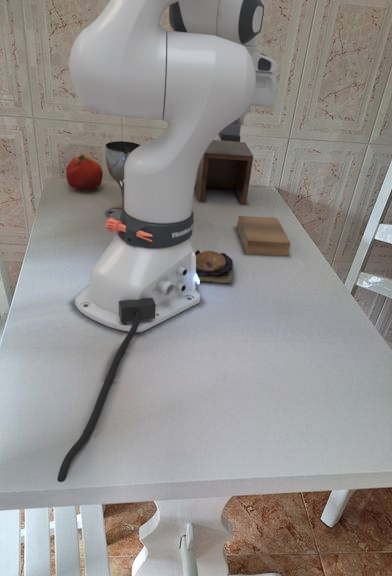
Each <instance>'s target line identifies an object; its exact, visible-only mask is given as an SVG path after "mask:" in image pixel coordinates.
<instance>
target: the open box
mask: <svg viewBox="0 0 392 576" xmlns="http://www.w3.org/2000/svg"><path fill="white" fill-rule="evenodd" d="M253 161H254V155H253V153H252V151H251V150H250V148H249V146H248V144H247V142H246V141H240V142H234V141H221V139H220V140H219V139H213V141H212V142H211V143H210V145H209V146H208V148H207V149H206V151H205V153H204V155H203V157H202V159H201V161H200V164H199V167H198V171H197V176H196V181H195V188H196V193H197V197H198V201H199V202H201V203H202V202H203V203H204V202H205V197H206V189H207V188H213V189H228V190H235V192H236V194H237V197H238V200H239V201H240V204H241V205H247V199H248V193H249V187H250V181H251V174H252V168H253V163H254V162H253Z"/></svg>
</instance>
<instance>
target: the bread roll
mask: <svg viewBox="0 0 392 576" xmlns="http://www.w3.org/2000/svg"><path fill="white" fill-rule="evenodd" d="M194 252H195V255H196V274H197V276H198V278H199V280H200V282H213V283H221V284H222V283H223V284H231V283H232V281H233V280H232V279H233V278H232V276H233V272H232V270H233V269H234V264H233V263H234V262H233V261H234V260H233V259H232V258H231V257H230V256H229V255H227V253H225V252H220V253H219V252H218V251H215V250H204V251H202V252H200V250H199V249H197V250H196V251H194Z"/></svg>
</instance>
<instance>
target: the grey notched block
mask: <svg viewBox="0 0 392 576" xmlns="http://www.w3.org/2000/svg"><path fill="white" fill-rule="evenodd" d="M239 119H240V117H239V118H238V119H237V120H235V121H234V122H232V123H231V124H229V125H228V126H227V127H225V128H224V129H223V130H222V131H221V132H220V133H219V134H218V135H217V136H218V137H219V139H220V140H221V141H234V142H241V129H242V125H240V124H239Z"/></svg>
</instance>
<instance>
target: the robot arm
mask: <svg viewBox="0 0 392 576" xmlns="http://www.w3.org/2000/svg"><path fill="white" fill-rule="evenodd" d="M168 7H169V8H168ZM167 8H168V20H169V24H170V27H171V28H172V30H167V29H165V28H163V27H162V26H161V25H160V24H161V23H160V20H161V17H162V15H163V12H164V11H165V10H166V9H167ZM264 13H265V0H109V1H108V3H107V4H106V6H105V7H104V9H103V10H102V12H101V13H100V14H99V15H98V17H96V19H94V20H93V22H92V23H90V24H89V25H88V26H86V27H85V28H84V29H83V30H82V31H81V32H79V34H78V35H77V36H76V39H75V40H74V42H73V44H72V46H71V49H70V53H69V59H68V72H69V79H70V82H71V85H72V88H73V90H74V93H75V94H76V96H77V97H78V99H79V100H80V102H81V103H82V104H83V105H84V106H85V108H88V109H92V110H94V111H97V112H101V113H104V114H108V115H112V116H115V117H123V118H135V119H145V120H146V119H148V120H158V121H159V120H161V121H163V122H167V124H166V128H165V129H164V131H163V132H162V134H160V135H159V136H157V137H156V138H154V139H151V140H149V141H147V142H145V143H142V144H140V145H141V146H139V147H137V148H136V149H134V150H133V151H132V152H131V153H130V154H129V156H128V157H127V159H126V162H125V165H124V206H123V207H121V208H122V210H121V214H120V216H119V220H117V219H114V218H112V217H109V218H108V219H107V221H106V222H105V224H106V225H105V227H106V230H107V231H110V232H114V233H116V235H115V236H114V238H113V239H112V241H110V243H109V244H108V246H107V247H106V249H105V250H104V252H103V253H102V255H101V256H100V257H99V259H98V260H97V261H96V263H95V264H94V266H93V267H92V268H91V270H90V275H89V282H88V286H86V287H85V289H84V290H83V291H81V292H80V293H79V294H77V296H76V297H75V298H74V305H75V307H76V309H77V310H78V311H79V312H80V313H81V314H83V315H84V316H86V317H87V318H89V319H90V320H93V321H95V322H97V323H99V324H101V325H103V326H105V327H109V328H112V329H115V330H118V331H123V332H128V333H127V334H126V335H125V338H124V339H123V341H122V342H121V344H120V346H119V348H118V350H117V352H116V353H115V356H114V358H113V360H112V363H111V365H110V367H109V370H108V372H107V374H106V376H105V379H104V382H103V384H102V386H101V389H100V391H99V394H98V397H97V399H96V402H95V404H94V407H93V408H92V409H93V410H92V412H91V414H90V417H89V419H88V421H87V423H86V425H85V428H84V429H83V431H82V433H81V435H80V436H79V438H78V439H77V440H76V441H75V443H74V444H73V445H72V447H70V449H69V450H68V452H67V453H66V454H65V456H64V458H63V460H62V463H61V465H60V468H59V470H58V474H57V479H56V480H57V482H58V483H62V482H65V481H66V479H67V476H68V472H69V469H70V466H71V464H72V462H73V461H74V459H75V457H76V455H77V454H78V453H79V452H80V450H81V449H82V448H83V447H84V446H85V444H86V443H87V442H88V440H89V438H90V436H91V435H92V432H93V430H94V428H95V426H96V424H97V422H98V419H99V416H100V414H101V411H102V408H103V407H104V406H103V405H104V403H105V400H106V398H107V395H108V392H109V390H110V388H111V385H112V383H113V380H114V377H115V374H116V372H117V369H118V367H119V364H120V362H121V360H122V358H123V356H124V353H125V351H126V350H127V348H128V346H129V344H130V342H131V341H132V339H133V338H134V336H135V334H136V333H143V332H145V331H147V330H149V329H151V328H153V327H155V326H157V325H159V324H161V323H162V322H165V321H166V320H168V319H170V318H173V317H174V316H176V315H178V314H180V313H182V312H185V311H186V310H188V309H190V308H192V307H194V306H196V305H198V304H200V302H201V294H200V293H199V291H198V290H197V289H196V287H197V285H200V282H201V281H200V280H199V278H198V276H197V274H196V255H195V252H196V251H195V250H194V248H193V244H192V240H191V237H192V235H193V233H194V225H195V219H194V218H195V213H194V211H193V202H194V201H193V200H194V193H195V188H196V176H197V171H198V167H199V164H200V161H201V159H202V157H203V155H204V153H205V151H206V149H207V148H208V146H209V145H210V143H211V142H212V141H213V140H215V139H216V137H217V136H219V135H218V134H219V133H220V132H221V131H222V130H223V129H224V128H225V127H227V126H228V125H229V124H231V123H232V122H234V121H235V120H237V119H238V118H239V117H240V119H239V124H240V126H243V125H244V123H245V118H246V117H247V116H248V115H249V113H250V111H251V108H252V107H264V108H272V107H273V105H274V104H275V102H276V98H277V97H276V96H277V77H276V75H275V74H274V72H275V71H276V68H277V63H276V61H275V60H274V59H272V58H271V57H269V56H267V55H266V54H265V53H262V52H259V34H260V33H261V31H262V28H263V22H264V15H265V14H264Z"/></svg>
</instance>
